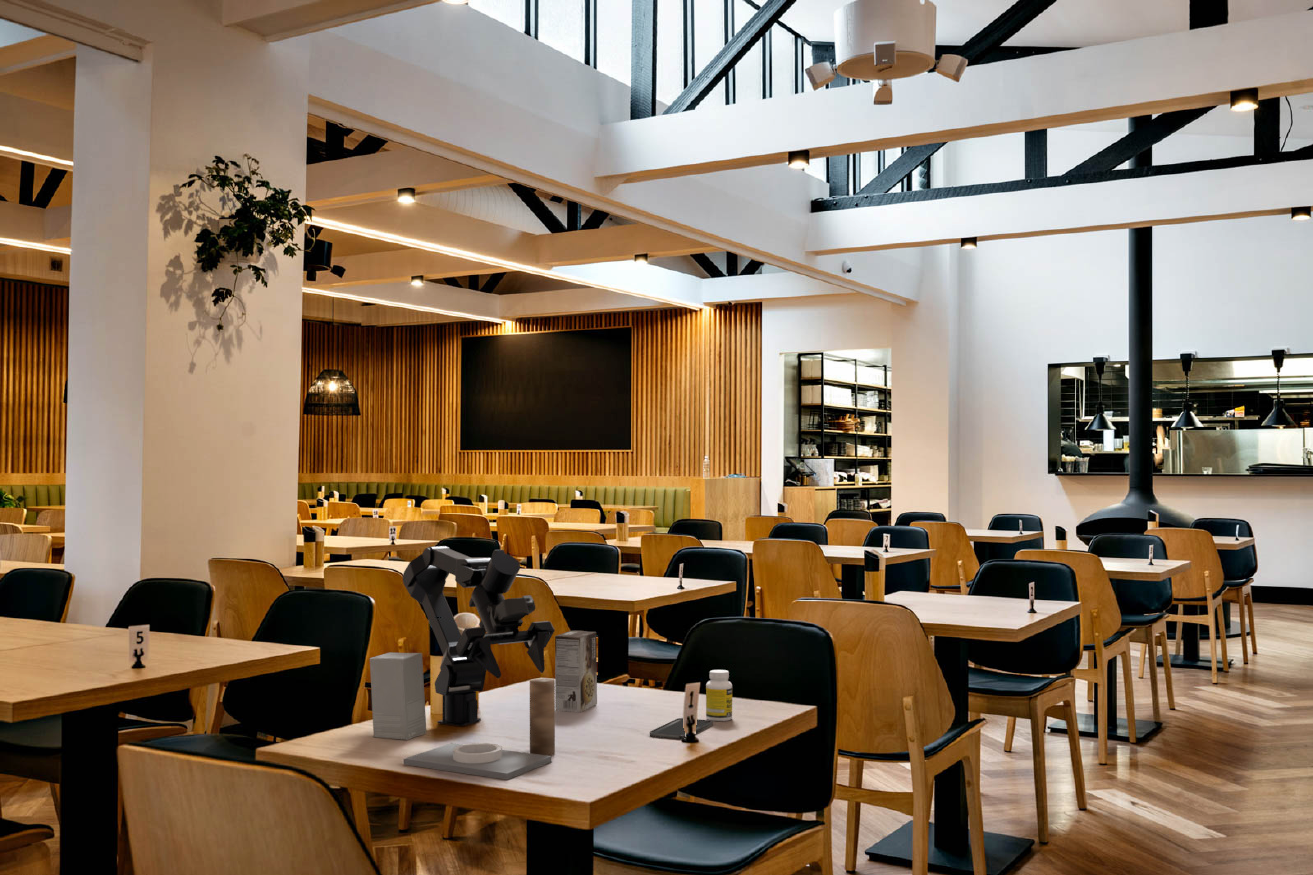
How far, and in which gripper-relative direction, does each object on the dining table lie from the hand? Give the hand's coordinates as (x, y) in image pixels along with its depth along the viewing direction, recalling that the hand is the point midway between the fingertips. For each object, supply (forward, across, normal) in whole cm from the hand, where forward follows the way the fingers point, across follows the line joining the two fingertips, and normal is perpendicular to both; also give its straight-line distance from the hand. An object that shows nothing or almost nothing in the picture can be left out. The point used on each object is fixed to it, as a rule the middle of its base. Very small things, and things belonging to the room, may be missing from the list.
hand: (521, 674), depth 201 cm
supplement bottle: (+13, +44, +6) cm, 46 cm away
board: (+14, -12, +5) cm, 19 cm away
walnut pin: (+15, 0, +4) cm, 15 cm away
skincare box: (-6, -15, +25) cm, 30 cm away
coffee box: (-8, +27, +26) cm, 39 cm away
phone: (+16, +31, +4) cm, 35 cm away
